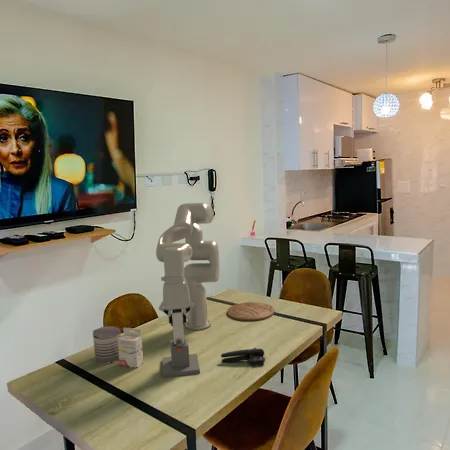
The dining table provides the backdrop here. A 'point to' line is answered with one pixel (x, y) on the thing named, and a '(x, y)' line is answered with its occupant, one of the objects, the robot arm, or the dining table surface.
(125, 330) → the ink cartridge box
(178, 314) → the column
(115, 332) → the can
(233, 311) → the trivet
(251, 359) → the can opener
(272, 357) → the dining table surface
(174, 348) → the stand
